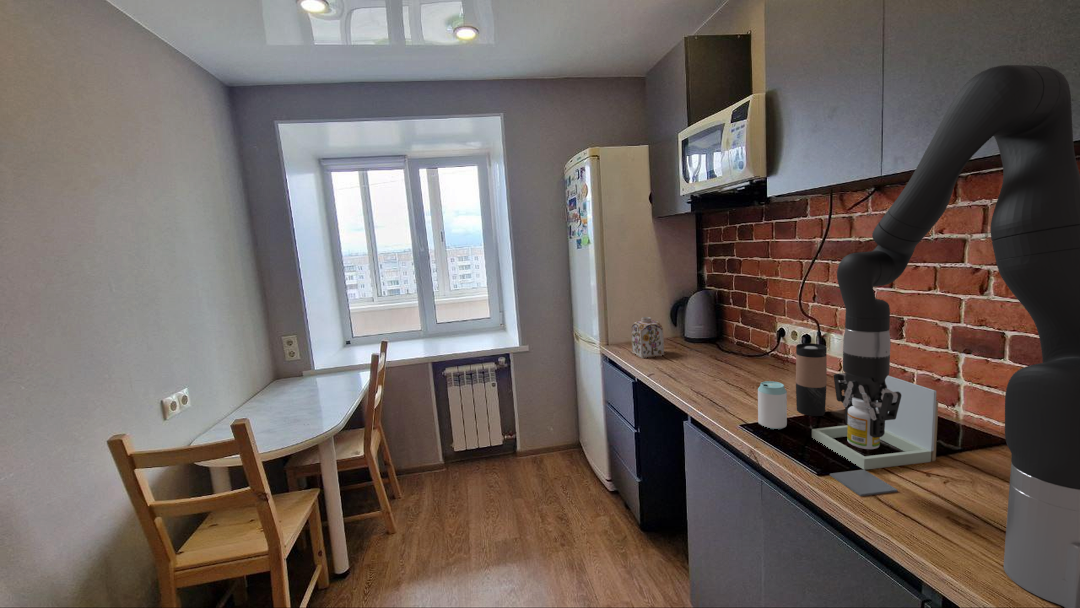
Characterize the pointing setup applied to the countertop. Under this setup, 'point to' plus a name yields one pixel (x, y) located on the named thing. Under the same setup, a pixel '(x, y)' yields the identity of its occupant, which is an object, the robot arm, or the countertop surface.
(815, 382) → the travel mug
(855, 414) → the supplement bottle
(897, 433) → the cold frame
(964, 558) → the countertop surface
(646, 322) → the decorative jar
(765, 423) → the can
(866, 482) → the slate coaster
